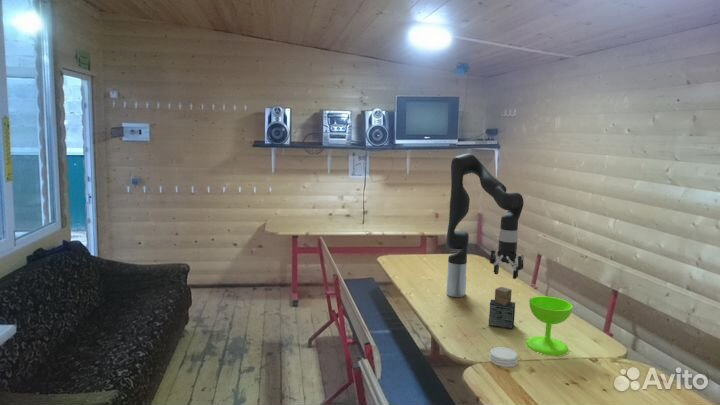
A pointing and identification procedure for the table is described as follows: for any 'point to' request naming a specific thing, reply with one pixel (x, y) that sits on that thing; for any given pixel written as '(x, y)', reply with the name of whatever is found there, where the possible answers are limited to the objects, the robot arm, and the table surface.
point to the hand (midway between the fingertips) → (505, 276)
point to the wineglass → (549, 324)
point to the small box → (502, 315)
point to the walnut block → (503, 295)
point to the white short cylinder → (503, 357)
